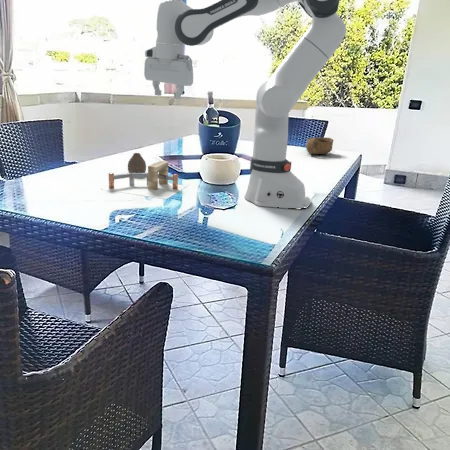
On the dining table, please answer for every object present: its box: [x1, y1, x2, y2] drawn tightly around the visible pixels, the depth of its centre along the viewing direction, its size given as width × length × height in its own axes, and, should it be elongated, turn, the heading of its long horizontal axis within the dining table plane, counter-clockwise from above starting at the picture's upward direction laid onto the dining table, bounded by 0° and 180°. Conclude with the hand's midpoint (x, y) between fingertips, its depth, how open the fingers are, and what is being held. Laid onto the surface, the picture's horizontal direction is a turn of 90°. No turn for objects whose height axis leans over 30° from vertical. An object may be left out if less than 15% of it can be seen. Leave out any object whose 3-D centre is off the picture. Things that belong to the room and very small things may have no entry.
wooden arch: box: [147, 160, 169, 190], centre depth 171 cm, size 3×10×8 cm, turn 162°
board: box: [101, 177, 188, 200], centre depth 170 cm, size 24×19×1 cm
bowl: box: [305, 136, 334, 155], centre depth 250 cm, size 18×14×10 cm
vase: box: [127, 152, 147, 173], centre depth 186 cm, size 7×7×9 cm
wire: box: [108, 172, 179, 189], centre depth 170 cm, size 23×6×5 cm, turn 100°
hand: (167, 97), depth 164 cm, fingers open, 8 cm apart
